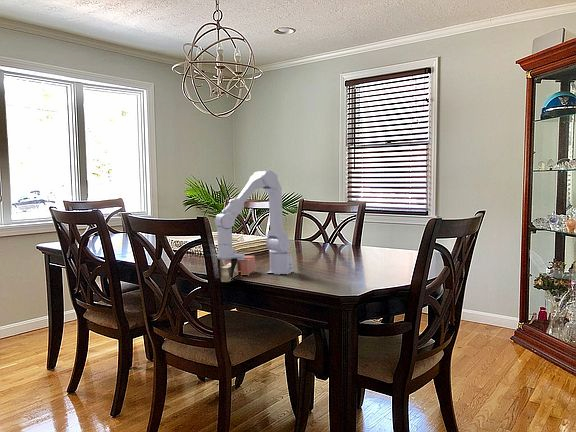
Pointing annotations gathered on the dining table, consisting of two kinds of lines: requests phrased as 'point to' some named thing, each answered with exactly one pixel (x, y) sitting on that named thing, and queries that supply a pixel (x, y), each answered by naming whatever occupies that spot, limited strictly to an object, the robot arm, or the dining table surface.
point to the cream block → (228, 272)
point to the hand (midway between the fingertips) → (226, 277)
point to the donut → (233, 253)
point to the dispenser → (245, 264)
